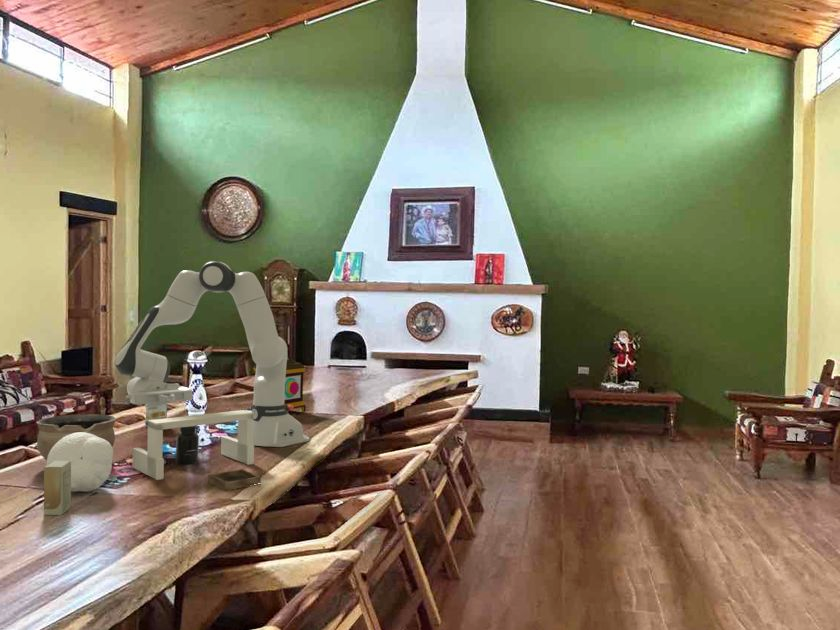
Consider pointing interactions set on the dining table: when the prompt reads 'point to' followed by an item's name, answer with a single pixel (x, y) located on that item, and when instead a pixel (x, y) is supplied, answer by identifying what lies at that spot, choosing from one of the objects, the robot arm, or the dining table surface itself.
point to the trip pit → (233, 479)
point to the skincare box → (57, 487)
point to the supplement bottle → (187, 446)
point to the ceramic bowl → (73, 429)
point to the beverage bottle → (155, 413)
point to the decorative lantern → (293, 384)
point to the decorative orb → (84, 459)
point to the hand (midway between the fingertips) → (171, 399)
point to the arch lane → (230, 447)
